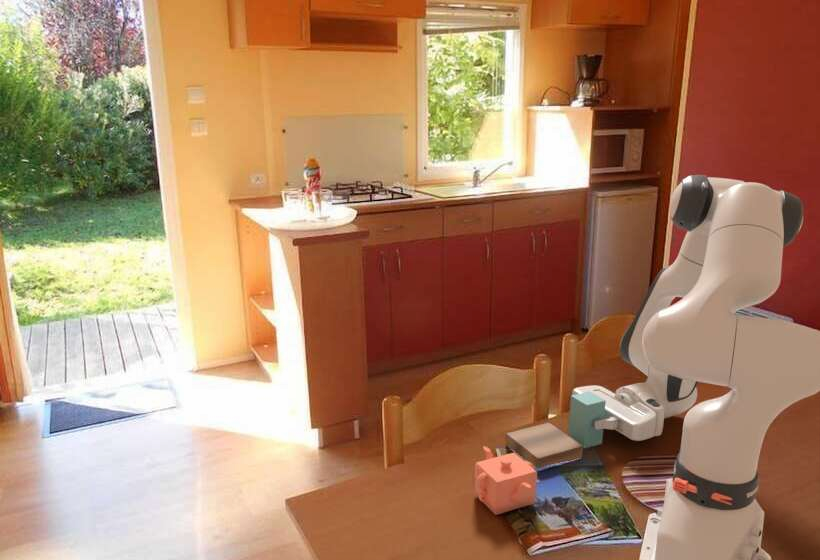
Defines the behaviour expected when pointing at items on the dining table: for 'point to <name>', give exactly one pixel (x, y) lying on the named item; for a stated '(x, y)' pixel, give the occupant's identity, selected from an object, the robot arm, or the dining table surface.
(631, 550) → the dining table surface
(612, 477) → the dining table surface
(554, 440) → the walnut plinth
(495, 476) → the teapot
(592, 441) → the teal pillar
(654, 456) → the dining table surface
